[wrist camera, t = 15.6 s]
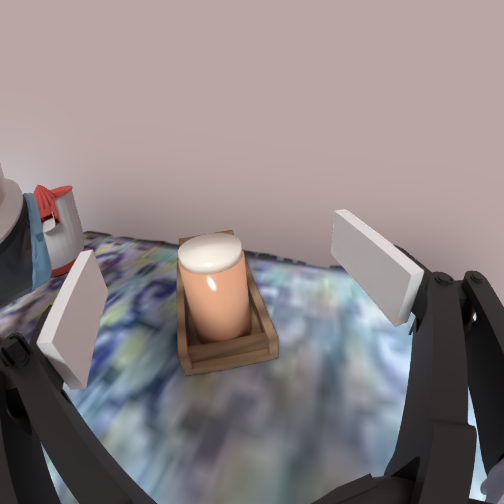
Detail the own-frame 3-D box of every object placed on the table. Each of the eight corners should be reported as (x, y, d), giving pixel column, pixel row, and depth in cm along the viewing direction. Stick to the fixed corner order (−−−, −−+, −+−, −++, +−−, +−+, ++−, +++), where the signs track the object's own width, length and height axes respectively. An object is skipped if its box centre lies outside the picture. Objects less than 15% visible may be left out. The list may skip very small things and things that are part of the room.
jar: (188, 343, 33) (163, 260, 27) (210, 308, 39) (195, 230, 33) (241, 356, 31) (228, 268, 25) (258, 316, 37) (251, 234, 31)
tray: (278, 357, 31) (277, 314, 28) (185, 375, 30) (169, 334, 26) (242, 264, 50) (238, 228, 47) (181, 275, 49) (172, 239, 45)
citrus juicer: (37, 295, 45) (2, 206, 35) (37, 264, 57) (13, 192, 47) (98, 267, 53) (72, 177, 43) (87, 243, 65) (67, 170, 55)
